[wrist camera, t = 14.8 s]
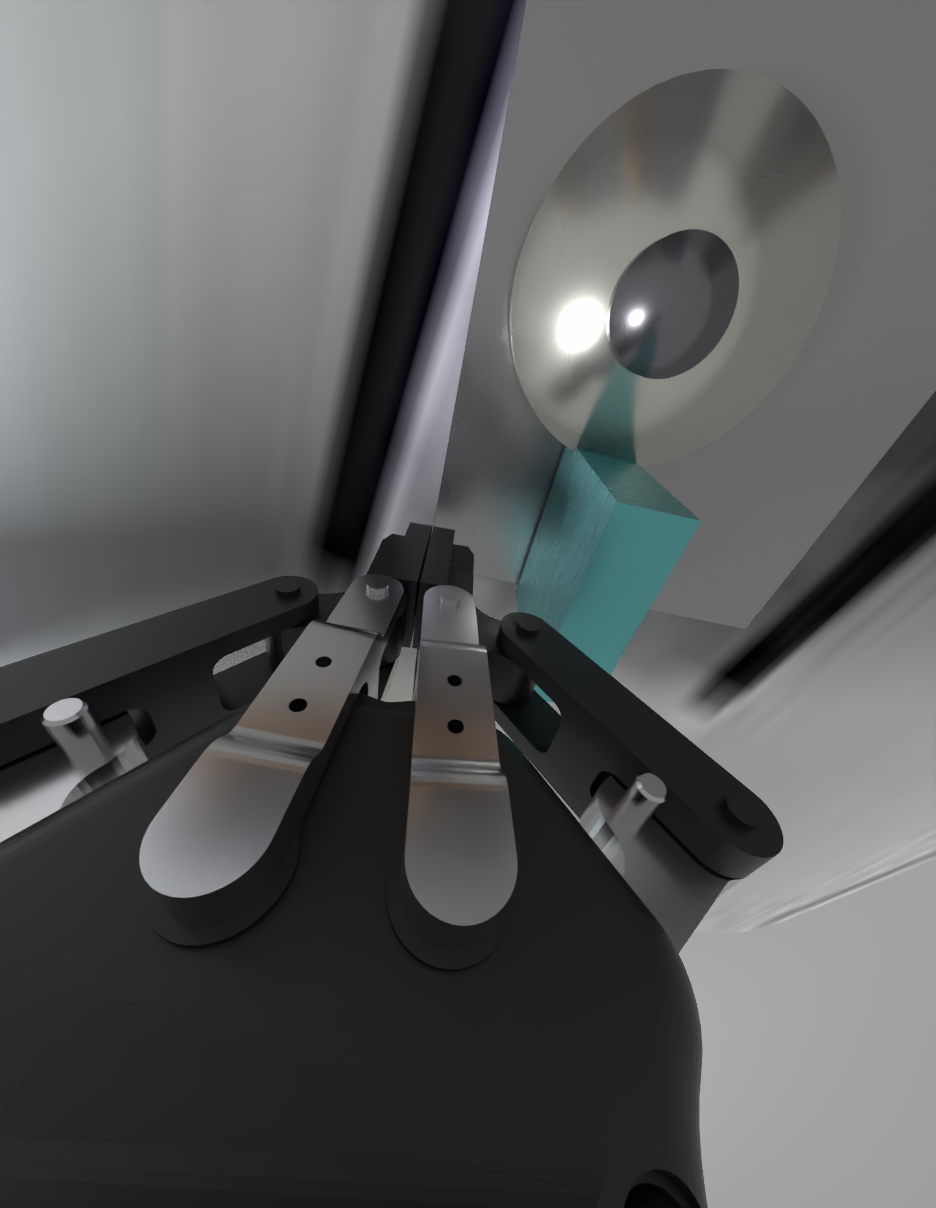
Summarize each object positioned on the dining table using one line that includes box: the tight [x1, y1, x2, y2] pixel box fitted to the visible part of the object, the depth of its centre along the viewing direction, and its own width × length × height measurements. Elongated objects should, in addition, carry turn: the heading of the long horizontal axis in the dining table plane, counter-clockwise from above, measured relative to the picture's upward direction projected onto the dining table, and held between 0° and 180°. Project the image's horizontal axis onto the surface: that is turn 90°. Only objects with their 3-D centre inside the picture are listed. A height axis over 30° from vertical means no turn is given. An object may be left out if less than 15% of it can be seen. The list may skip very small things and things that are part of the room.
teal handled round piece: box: [509, 69, 841, 702], centre depth 11 cm, size 8×14×6 cm, turn 168°
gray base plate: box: [434, 0, 936, 629], centre depth 13 cm, size 15×18×1 cm
